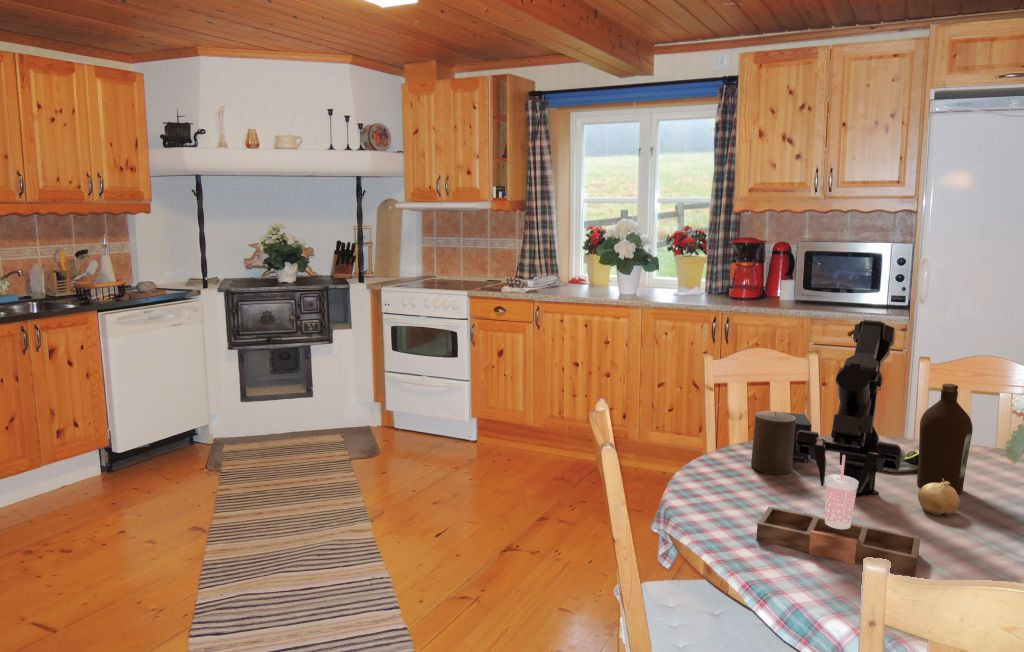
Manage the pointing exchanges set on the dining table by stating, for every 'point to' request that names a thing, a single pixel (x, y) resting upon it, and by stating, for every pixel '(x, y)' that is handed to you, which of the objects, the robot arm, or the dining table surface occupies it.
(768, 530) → the wooden compartment tray
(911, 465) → the salad plate
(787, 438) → the pillar candle
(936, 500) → the onion
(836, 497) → the beverage cup
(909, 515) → the dining table surface
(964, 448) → the olive oil
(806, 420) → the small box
